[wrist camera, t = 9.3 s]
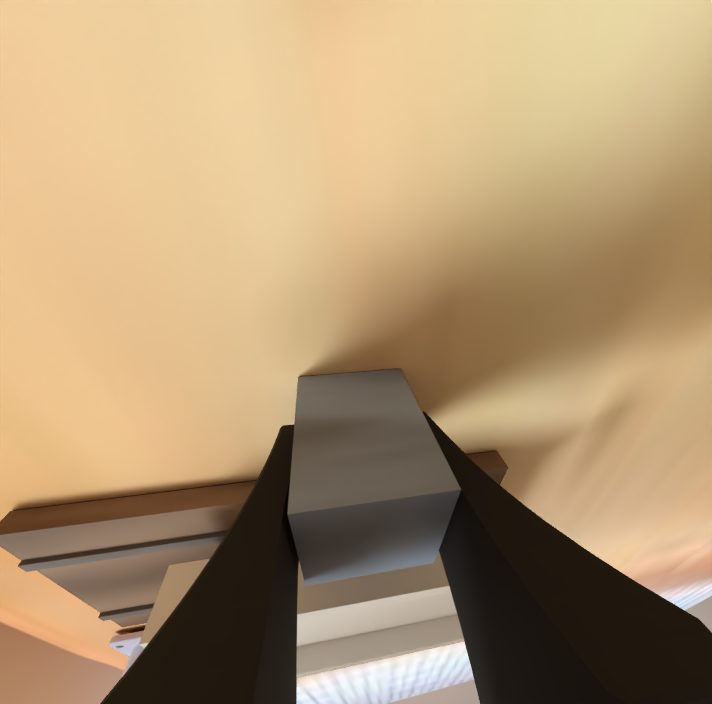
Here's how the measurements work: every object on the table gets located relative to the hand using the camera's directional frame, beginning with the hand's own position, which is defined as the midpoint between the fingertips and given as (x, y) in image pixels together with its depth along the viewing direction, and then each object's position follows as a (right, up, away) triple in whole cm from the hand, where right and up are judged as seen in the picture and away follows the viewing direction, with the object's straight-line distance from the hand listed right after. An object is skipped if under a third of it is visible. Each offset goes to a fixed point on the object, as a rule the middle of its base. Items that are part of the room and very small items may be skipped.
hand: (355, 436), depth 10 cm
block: (0, +1, +1) cm, 1 cm away
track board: (-4, -8, +6) cm, 11 cm away
